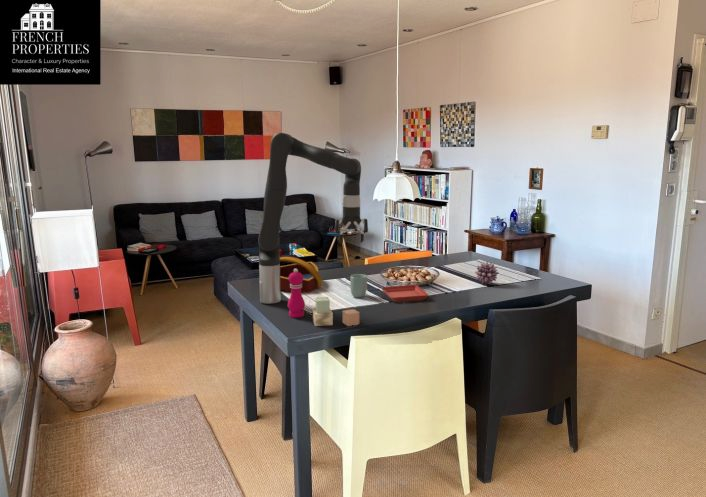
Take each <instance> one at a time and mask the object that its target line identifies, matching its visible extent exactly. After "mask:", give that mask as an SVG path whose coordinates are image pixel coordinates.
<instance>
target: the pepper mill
mask: <svg viewBox="0 0 706 497" xmlns="http://www.w3.org/2000/svg"><path fill="white" fill-rule="evenodd" d="M302 281H303V275H302V274H301V273H299V272H298V269H294V272H293V273H291V274H290V275H289V282H290V283H291V284H290V288H291V291H290V296H289V299H288V301H287V309H289V311H288V317H291V318H294V319H295V318H296V319H297V318H302V317H304V315H305V311H304V309H305V307H306V302H305V300H304V297H303V295H302V292H301V287H302Z"/></svg>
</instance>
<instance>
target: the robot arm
mask: <svg viewBox="0 0 706 497" xmlns="http://www.w3.org/2000/svg"><path fill="white" fill-rule="evenodd" d="M289 156H294V157H300V158H303V159H305V160H308V161H310V162H312V163H314V164H317V165H320V166H322V167H324V168H328V169H332V170H334V171H336V172H339V173H341V174H344V175H345V178H344V182H343V191H342V192H343V193H342V195H343V196H342V197H343V198H342V218H341V219H338V218H336V219H335V222H334V223H335V224H334V232H335V234H338V240H339V242H340V244H343V243H344V233H345V231H346V230H352V229H353V230H356V229H357V230H358V232H359V243H363V242H364V241H365V240H364V236H365V235H364V234H366V233H368V232H369V226H368V225H369V224H368V219H367V218H365V217H364V218H361V197H360V196H361V195H360V193H361V192H360V191H361V189H360V188H361V186H360V184H361V183H360V182H361V176H362V165H361V162H360V161H359V160H358V159H357V158H353V157H352V158H351V157H346V156H343V155H340V154H339V153H337V152H334V151H332V150H329V149H325V148H321V147H317V146H315V145H311V144H308V143H305V142H303V141H301V140H299V139H297V138H295V137H293V136H292V135H290V134H289V133H286V132H285V133H284V132H277V133H275V134H274V135H273V136H272V137H271V140H270V145H269V165H268V170H267V178H266V183H265V190H264V196H263V197H264V198H263V217H262V218H263V219H262V223H261V228H260V232H259V235H258V238H257V242H258V243H257V244H258V253H259V254H258V265H259V266H258V268H259V269H258V270H259V271H258V272H259V274H258V275H259V303H260V304H269V305H270V304H277V303H281V301H282V300H281V299H282V298H281V297H282V295H281V289H280V267H281V261H280V258H281V254H280V252H281V250H280V247H281V246H280V244H281V243H280V242H281V241H280V226H281V225H280V224H281V219H282V214H283V211H284V210H283V209H284V206H285V202H286V198H287V189H288V178H287V177H288V176H287V162H288V157H289ZM361 222H362V224H363V229H362V227H361V226H360V224H361ZM341 223H342V227H341V229H340V230H339V228H340V227H339V226H340V225H341Z"/></svg>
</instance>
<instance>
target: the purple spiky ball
mask: <svg viewBox="0 0 706 497" xmlns="http://www.w3.org/2000/svg"><path fill="white" fill-rule="evenodd" d="M494 265H495V264H494V263H492V262H490V263H489V262H488V261H486V263H485V261H483V262H481V263H480V265H477V267H476V270H477V271H474V274H476V281H479V283H481V284H482V285H483V284H484V283H485V285H491V284H493V281H494V282H497V278H498V277H497V276H498V274H500V273H499V271H498V269H497V266H494Z"/></svg>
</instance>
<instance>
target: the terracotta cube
mask: <svg viewBox="0 0 706 497" xmlns="http://www.w3.org/2000/svg"><path fill="white" fill-rule="evenodd" d="M342 323H343V324H344V325H345V326H347V327H352V325H353V326H357V325H358V324H359V325H360V311H357V310H356V309H354V308H353V309H352V308H350V309H345V310H342ZM359 325H358V326H359Z"/></svg>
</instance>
